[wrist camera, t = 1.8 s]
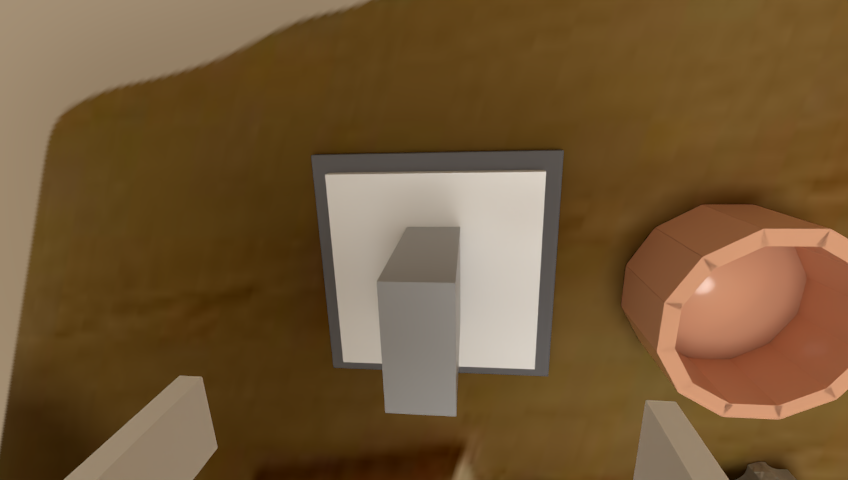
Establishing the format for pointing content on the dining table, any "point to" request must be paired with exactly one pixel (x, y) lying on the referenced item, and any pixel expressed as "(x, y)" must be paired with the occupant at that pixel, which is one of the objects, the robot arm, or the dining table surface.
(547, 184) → the rubber mat
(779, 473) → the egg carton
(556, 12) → the dining table surface
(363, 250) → the cover sheet
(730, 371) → the bowl
